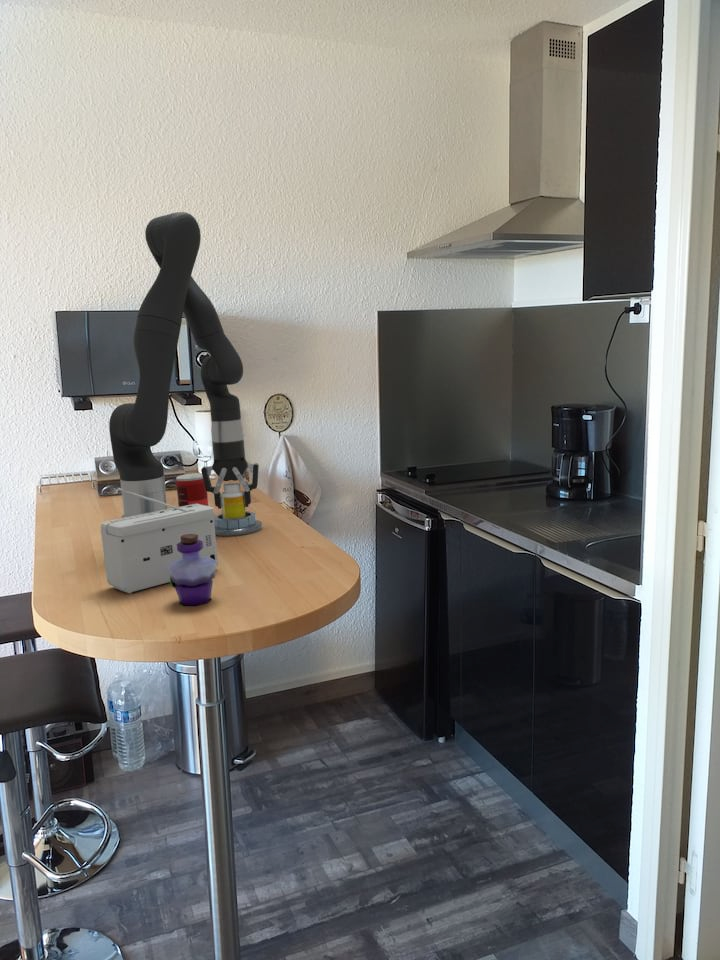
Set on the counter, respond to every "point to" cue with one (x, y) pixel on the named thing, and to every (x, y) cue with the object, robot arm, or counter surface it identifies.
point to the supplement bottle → (233, 502)
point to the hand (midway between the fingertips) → (233, 507)
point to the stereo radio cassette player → (153, 544)
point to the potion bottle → (192, 572)
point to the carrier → (236, 525)
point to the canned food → (191, 490)
